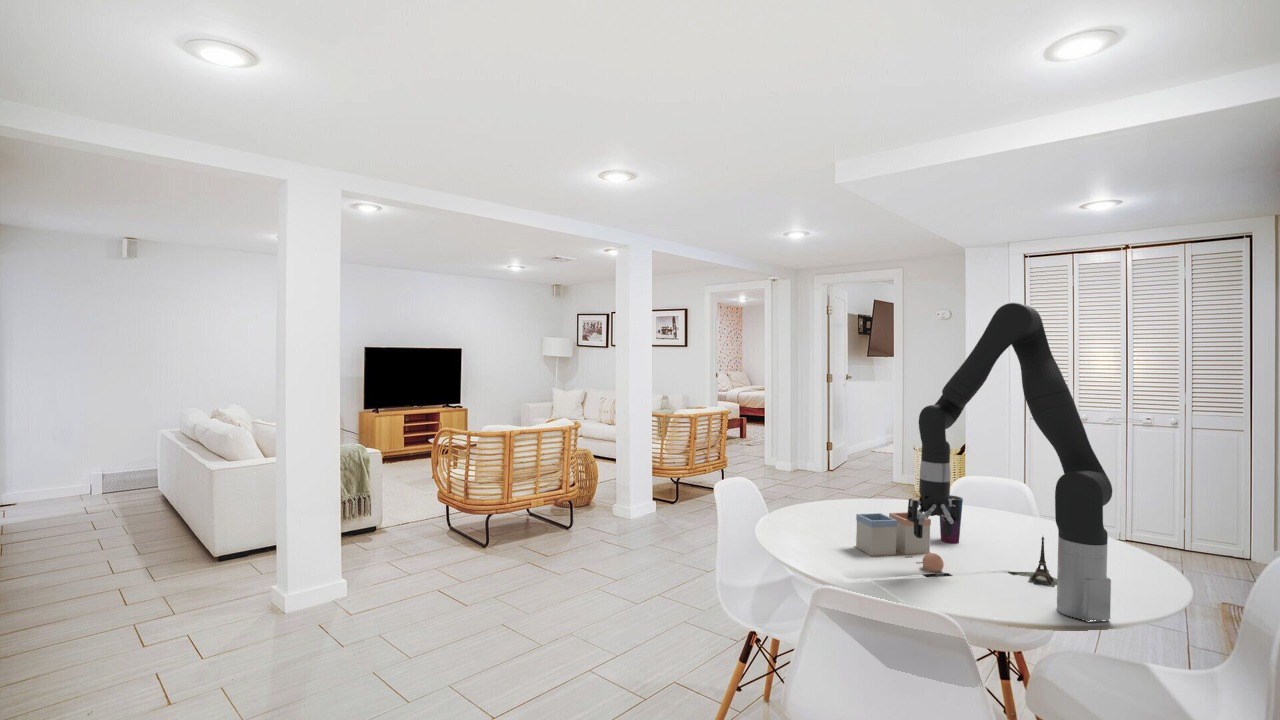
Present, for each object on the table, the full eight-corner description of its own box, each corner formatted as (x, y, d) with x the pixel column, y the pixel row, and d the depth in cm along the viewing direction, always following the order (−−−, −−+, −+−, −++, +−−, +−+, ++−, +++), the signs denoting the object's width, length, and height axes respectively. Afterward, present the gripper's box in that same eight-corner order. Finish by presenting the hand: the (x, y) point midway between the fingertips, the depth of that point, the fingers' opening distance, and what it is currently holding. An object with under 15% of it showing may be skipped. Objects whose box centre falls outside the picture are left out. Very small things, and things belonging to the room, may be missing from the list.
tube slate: (896, 554, 179) (897, 520, 179) (870, 555, 178) (871, 521, 178) (880, 546, 187) (881, 513, 187) (855, 547, 186) (856, 514, 186)
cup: (964, 548, 190) (965, 500, 190) (941, 547, 192) (942, 499, 191) (958, 542, 197) (959, 495, 197) (935, 540, 198) (936, 494, 198)
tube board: (933, 558, 181) (933, 553, 181) (871, 561, 177) (871, 556, 177) (911, 547, 191) (912, 543, 191) (852, 550, 187) (852, 546, 187)
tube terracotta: (930, 553, 182) (930, 519, 181) (905, 554, 180) (905, 520, 180) (912, 544, 190) (913, 512, 190) (888, 545, 188) (889, 513, 188)
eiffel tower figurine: (1085, 594, 156) (1086, 541, 156) (1048, 595, 155) (1049, 542, 154) (1039, 573, 171) (1040, 525, 171) (1006, 574, 169) (1007, 525, 169)
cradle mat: (953, 576, 165) (953, 572, 165) (926, 578, 164) (926, 573, 164) (920, 559, 179) (920, 555, 179) (895, 561, 177) (895, 556, 177)
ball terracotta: (947, 575, 165) (948, 556, 165) (930, 576, 164) (930, 557, 164) (934, 568, 170) (935, 550, 170) (918, 569, 169) (918, 551, 169)
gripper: (920, 481, 162) (917, 542, 162) (967, 480, 165) (965, 540, 165) (902, 475, 170) (900, 533, 170) (948, 474, 172) (946, 532, 172)
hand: (932, 537), depth 167 cm, fingers open, 8 cm apart
